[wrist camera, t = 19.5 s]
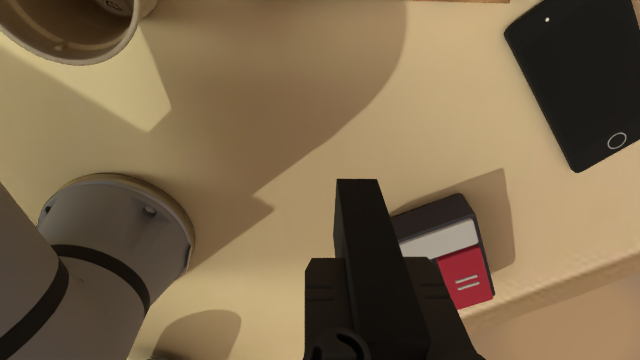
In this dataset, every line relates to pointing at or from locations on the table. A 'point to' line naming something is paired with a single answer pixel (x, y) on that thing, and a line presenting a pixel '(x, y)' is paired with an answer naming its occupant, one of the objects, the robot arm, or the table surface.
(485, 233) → the table surface
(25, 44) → the flower pot
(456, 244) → the calculator
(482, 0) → the board
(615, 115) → the cell phone
